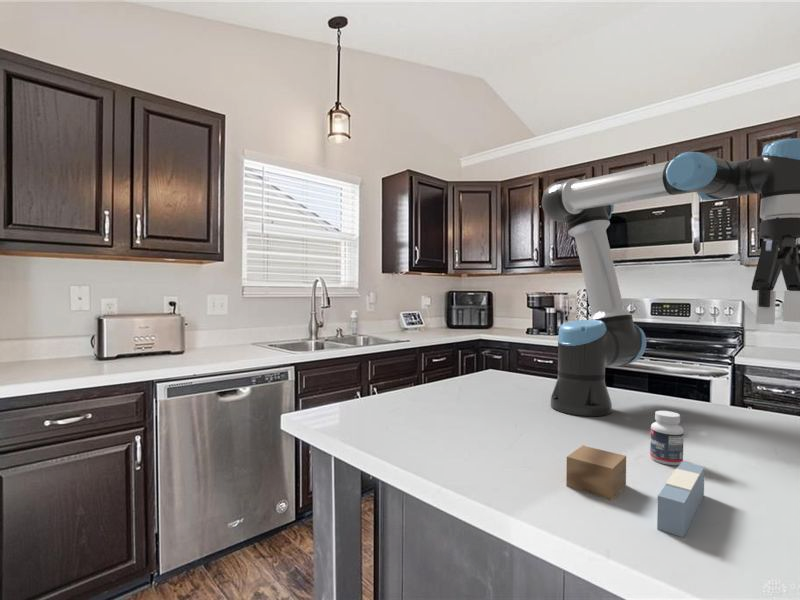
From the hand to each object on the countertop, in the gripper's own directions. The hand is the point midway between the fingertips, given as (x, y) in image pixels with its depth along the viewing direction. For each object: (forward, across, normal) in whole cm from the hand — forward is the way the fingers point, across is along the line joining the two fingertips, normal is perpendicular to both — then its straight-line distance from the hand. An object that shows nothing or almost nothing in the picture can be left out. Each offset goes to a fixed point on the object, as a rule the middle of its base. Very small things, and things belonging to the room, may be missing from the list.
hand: (779, 322), depth 90 cm
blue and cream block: (+25, -46, -4) cm, 53 cm away
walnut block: (+26, -49, +7) cm, 56 cm away
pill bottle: (+26, -28, +7) cm, 39 cm away
